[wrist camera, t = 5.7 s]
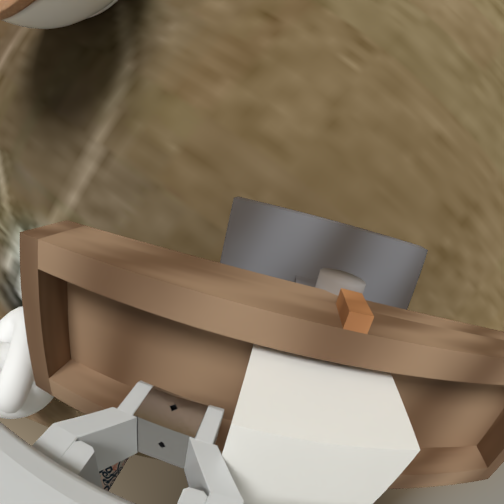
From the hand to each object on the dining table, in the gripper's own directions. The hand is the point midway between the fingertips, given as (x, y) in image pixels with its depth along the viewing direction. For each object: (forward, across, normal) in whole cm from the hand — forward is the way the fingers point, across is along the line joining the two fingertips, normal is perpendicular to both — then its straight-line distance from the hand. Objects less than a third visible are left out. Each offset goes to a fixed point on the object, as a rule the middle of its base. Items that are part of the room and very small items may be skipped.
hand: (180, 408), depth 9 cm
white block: (+3, -4, 0) cm, 5 cm away
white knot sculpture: (+12, +19, +13) cm, 26 cm away
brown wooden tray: (+11, -4, 0) cm, 12 cm away
